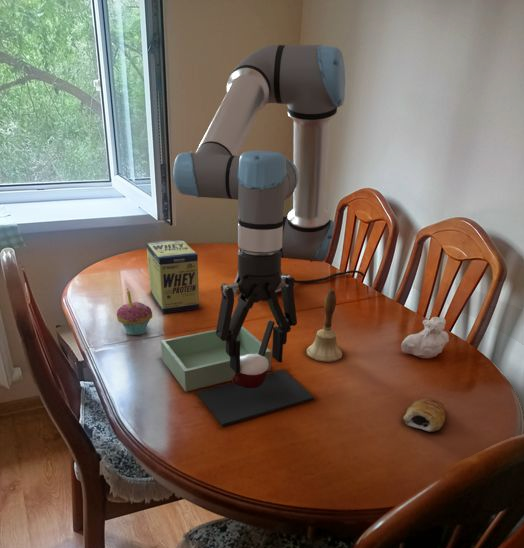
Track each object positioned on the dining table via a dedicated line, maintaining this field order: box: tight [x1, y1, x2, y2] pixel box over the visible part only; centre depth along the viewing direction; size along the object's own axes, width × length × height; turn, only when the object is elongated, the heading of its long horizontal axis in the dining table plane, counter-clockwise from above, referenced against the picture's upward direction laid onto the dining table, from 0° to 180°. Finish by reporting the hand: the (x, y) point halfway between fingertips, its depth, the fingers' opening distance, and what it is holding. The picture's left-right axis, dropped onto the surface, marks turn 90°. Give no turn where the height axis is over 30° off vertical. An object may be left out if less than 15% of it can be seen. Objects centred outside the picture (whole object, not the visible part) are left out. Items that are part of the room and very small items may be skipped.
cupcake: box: [116, 288, 153, 336], centre depth 120 cm, size 9×8×12 cm
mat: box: [196, 369, 315, 427], centre depth 98 cm, size 20×12×1 cm, turn 119°
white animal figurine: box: [400, 316, 450, 359], centre depth 113 cm, size 12×8×11 cm
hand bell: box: [306, 288, 343, 363], centre depth 111 cm, size 8×8×16 cm
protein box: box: [145, 239, 200, 315], centre depth 136 cm, size 10×16×16 cm
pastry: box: [403, 397, 447, 433], centre depth 93 cm, size 9×7×4 cm
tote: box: [160, 325, 272, 393], centre depth 108 cm, size 20×15×5 cm
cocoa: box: [231, 319, 276, 388], centre depth 94 cm, size 10×6×12 cm, turn 111°
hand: (256, 364), depth 95 cm, fingers closed on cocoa, 8 cm apart
